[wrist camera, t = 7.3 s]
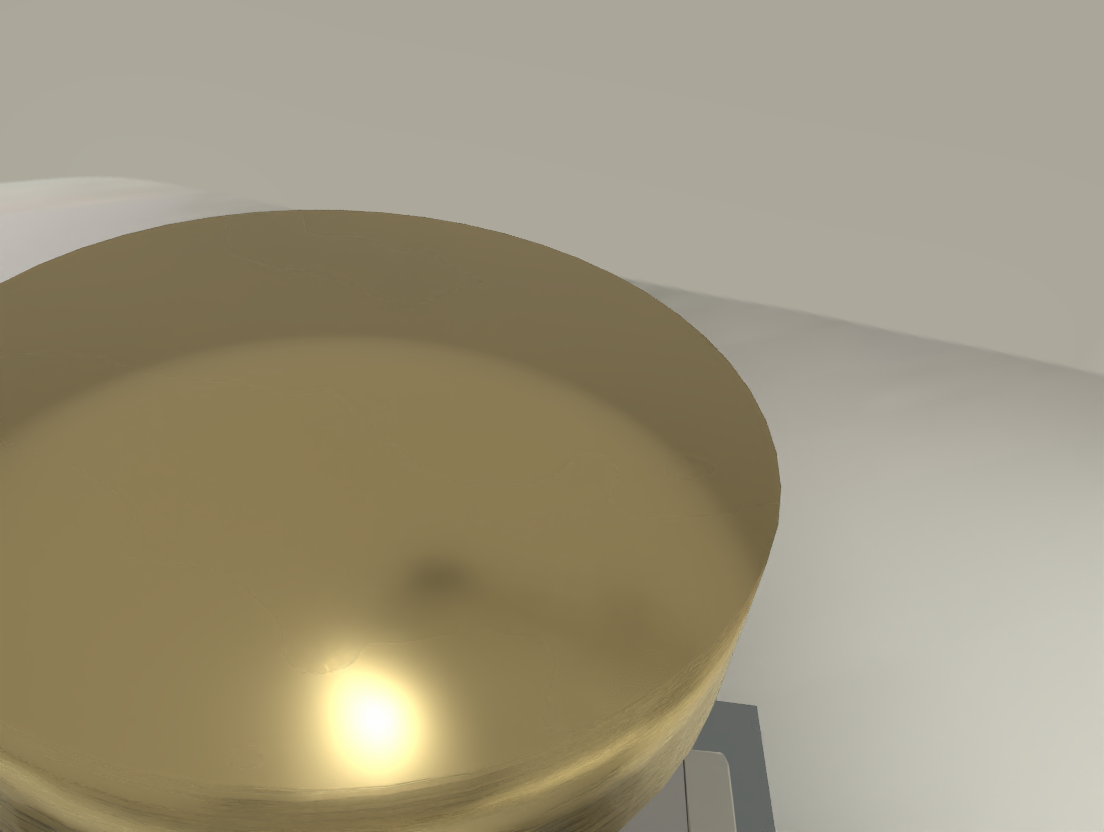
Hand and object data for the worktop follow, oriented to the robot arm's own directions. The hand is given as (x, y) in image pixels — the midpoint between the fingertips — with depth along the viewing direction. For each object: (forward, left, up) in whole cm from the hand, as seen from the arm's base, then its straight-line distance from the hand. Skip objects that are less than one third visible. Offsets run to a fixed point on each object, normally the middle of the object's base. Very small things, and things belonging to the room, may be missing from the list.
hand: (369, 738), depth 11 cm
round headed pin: (0, +1, -8) cm, 8 cm away
